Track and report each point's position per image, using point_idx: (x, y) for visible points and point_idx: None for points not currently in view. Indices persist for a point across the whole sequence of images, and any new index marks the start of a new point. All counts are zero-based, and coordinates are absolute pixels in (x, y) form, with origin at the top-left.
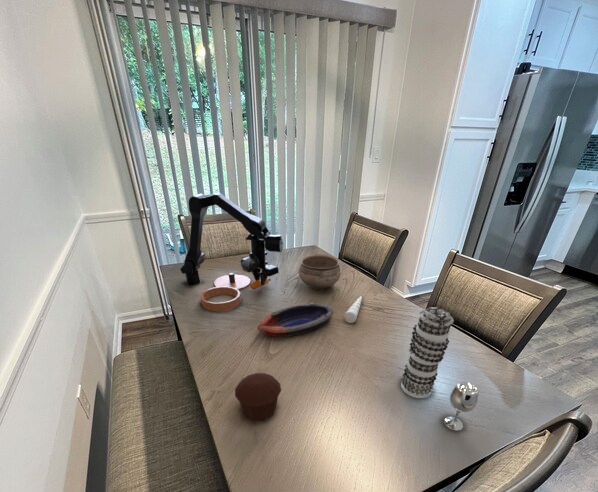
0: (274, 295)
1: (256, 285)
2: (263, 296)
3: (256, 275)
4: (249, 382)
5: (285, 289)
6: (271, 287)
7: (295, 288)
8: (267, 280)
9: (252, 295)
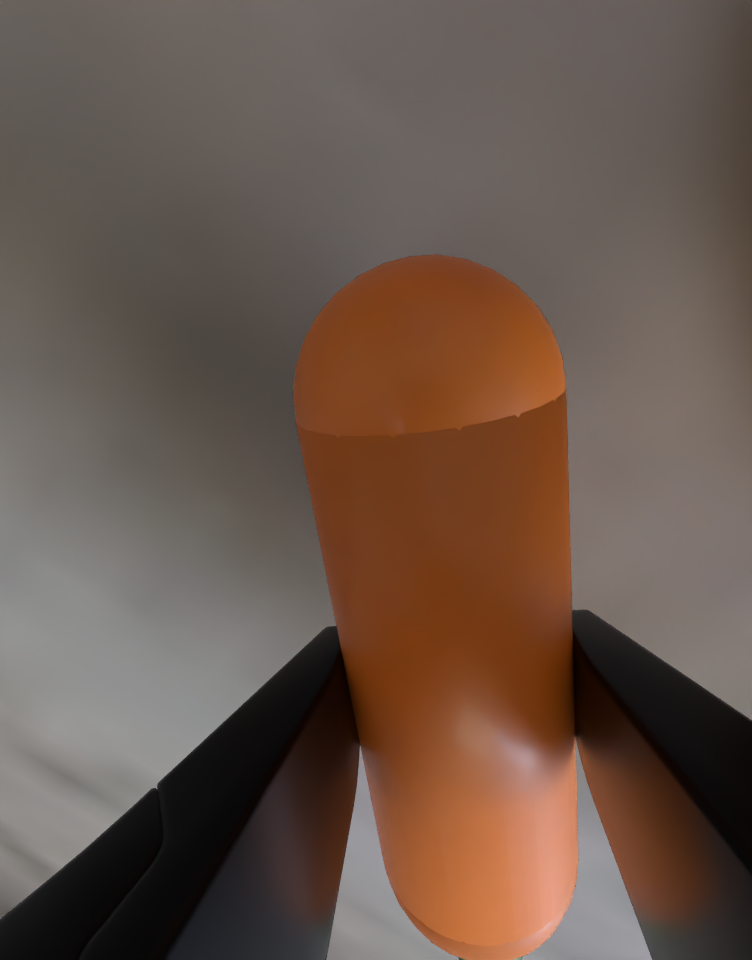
0: (37, 599)
1: (305, 453)
2: (96, 402)
3: (713, 908)
4: None
5: None
6: None
7: None
8: (391, 879)
9: (287, 205)
